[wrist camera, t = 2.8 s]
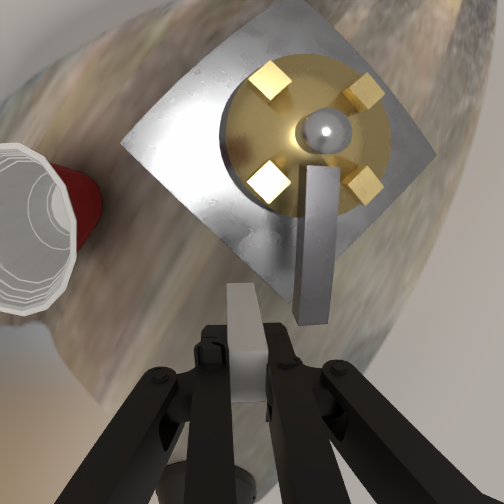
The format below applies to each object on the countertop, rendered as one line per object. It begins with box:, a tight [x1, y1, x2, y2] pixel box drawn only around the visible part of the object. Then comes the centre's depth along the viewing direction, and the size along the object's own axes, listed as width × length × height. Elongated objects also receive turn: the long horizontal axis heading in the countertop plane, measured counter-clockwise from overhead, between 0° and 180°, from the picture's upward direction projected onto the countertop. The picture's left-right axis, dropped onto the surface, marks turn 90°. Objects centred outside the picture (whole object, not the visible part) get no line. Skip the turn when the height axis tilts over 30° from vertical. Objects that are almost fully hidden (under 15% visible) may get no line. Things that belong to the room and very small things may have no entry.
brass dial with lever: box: [226, 54, 391, 326], centre depth 20 cm, size 18×11×6 cm, turn 179°
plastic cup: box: [0, 143, 102, 316], centre depth 20 cm, size 11×11×12 cm
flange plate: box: [120, 0, 436, 303], centre depth 24 cm, size 20×20×4 cm
